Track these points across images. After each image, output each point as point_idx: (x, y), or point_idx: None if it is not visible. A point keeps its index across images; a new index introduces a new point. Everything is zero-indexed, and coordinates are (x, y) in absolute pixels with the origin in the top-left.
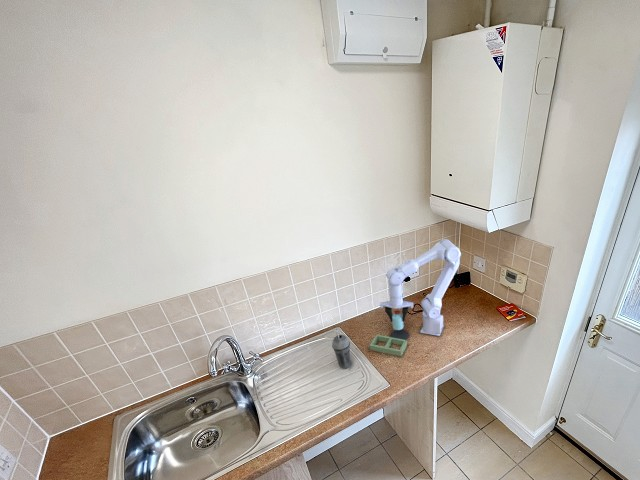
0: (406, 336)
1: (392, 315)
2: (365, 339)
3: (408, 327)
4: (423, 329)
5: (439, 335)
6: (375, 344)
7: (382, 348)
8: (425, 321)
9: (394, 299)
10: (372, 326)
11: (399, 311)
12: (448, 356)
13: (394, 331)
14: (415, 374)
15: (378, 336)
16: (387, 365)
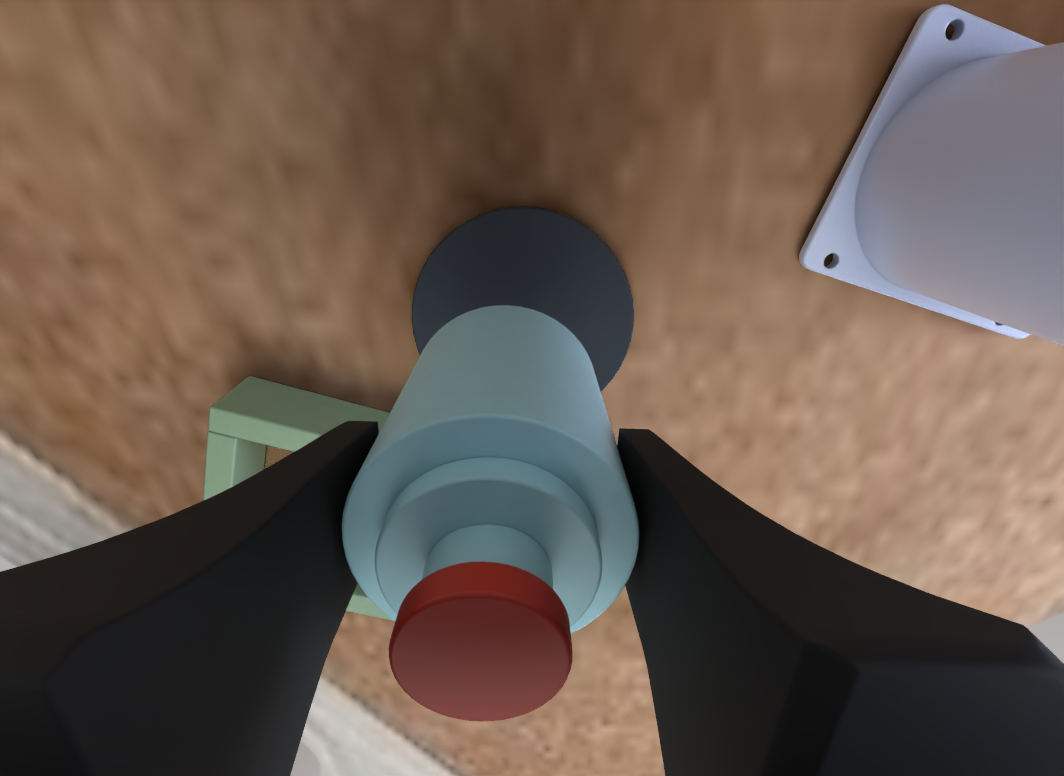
0: (610, 357)
1: (355, 534)
2: (109, 379)
3: (642, 122)
4: (862, 225)
5: (1025, 335)
6: (263, 465)
7: (360, 606)
8: (1028, 320)
9: None
10: (69, 81)
11: (563, 653)
12: (972, 601)
13: (443, 250)
14: None
15: (252, 440)
16: None
